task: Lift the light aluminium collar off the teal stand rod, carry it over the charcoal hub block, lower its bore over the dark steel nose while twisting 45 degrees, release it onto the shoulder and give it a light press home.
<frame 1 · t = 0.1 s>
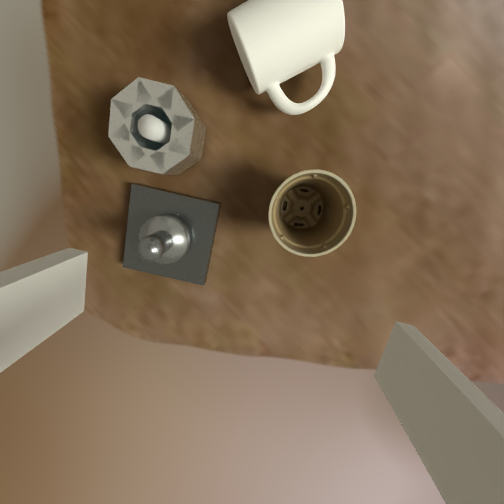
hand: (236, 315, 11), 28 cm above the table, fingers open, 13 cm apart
collar: (169, 136, 35), point 1 cm above the table, touching stand
stand: (172, 137, 36), on the table
mug: (288, 68, 34), on the table
flower pot: (301, 206, 38), on the table
hub: (172, 234, 39), on the table
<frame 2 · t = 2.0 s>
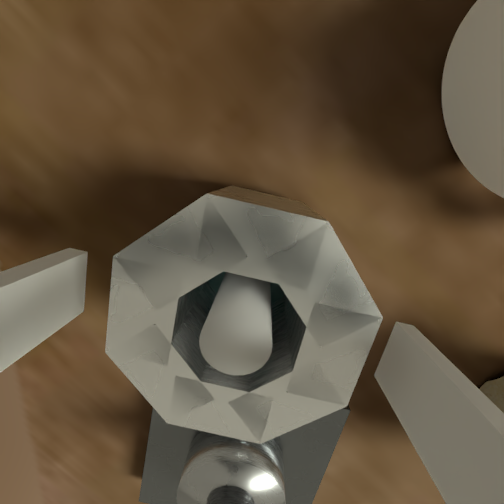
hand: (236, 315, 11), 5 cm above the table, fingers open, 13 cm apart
collar: (248, 274, 15), point 1 cm above the table, touching stand
stand: (249, 268, 16), on the table
hub: (237, 438, 20), on the table
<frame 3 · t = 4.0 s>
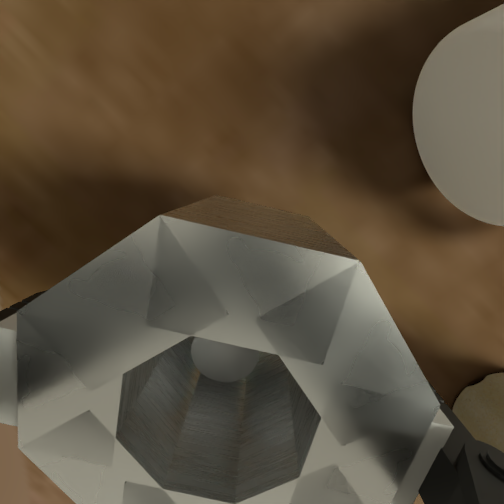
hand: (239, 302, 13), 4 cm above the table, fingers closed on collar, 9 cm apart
collar: (238, 306, 12), point 5 cm above the table, touching gripper
stand: (240, 280, 17), on the table
flower pot: (493, 405, 19), on the table
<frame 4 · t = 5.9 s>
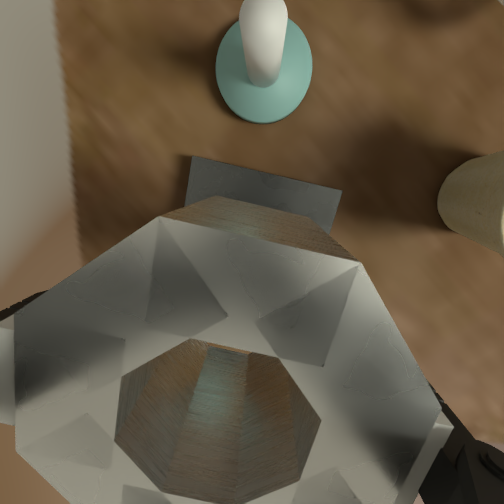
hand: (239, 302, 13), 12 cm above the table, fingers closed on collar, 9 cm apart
collar: (238, 307, 12), point 13 cm above the table, touching gripper
stand: (263, 74, 21), on the table
flower pot: (472, 195, 23), on the table
hub: (251, 242, 24), on the table
when the fingers open (3 cm above the table, at t = 7.8 s): collar stays where it is, resting on hub.
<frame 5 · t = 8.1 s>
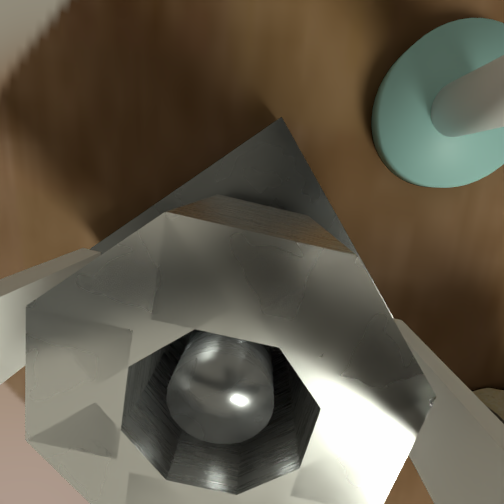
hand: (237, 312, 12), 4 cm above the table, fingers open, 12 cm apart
collar: (239, 304, 12), point 4 cm above the table, touching hub
stand: (444, 113, 13), on the table
flower pot: (482, 420, 18), on the table
hub: (244, 276, 16), on the table
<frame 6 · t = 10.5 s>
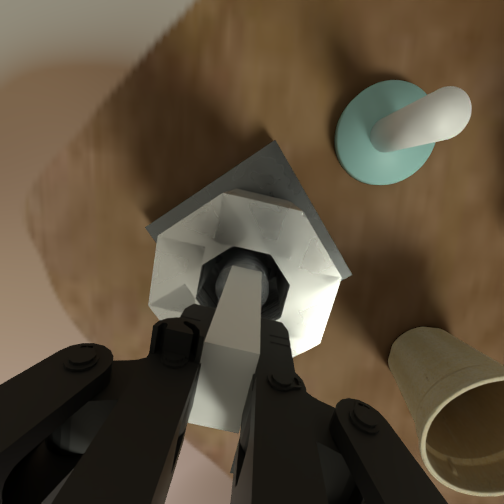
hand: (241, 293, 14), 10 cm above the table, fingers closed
collar: (248, 258, 19), point 4 cm above the table, touching hub
stand: (381, 136, 21), on the table
flower pot: (420, 352, 25), on the table
hub: (250, 246, 23), on the table
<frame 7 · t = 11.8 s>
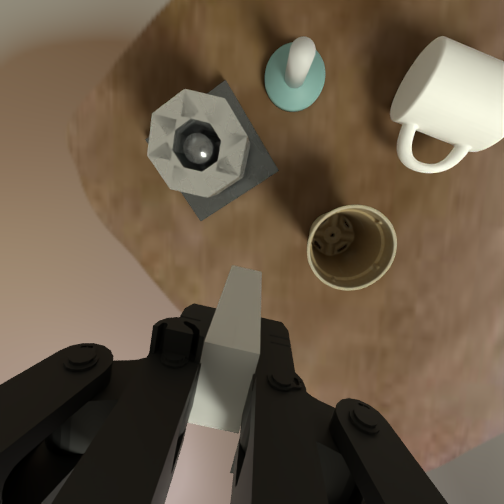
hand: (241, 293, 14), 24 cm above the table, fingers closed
collar: (208, 151, 31), point 4 cm above the table, touching hub
stand: (293, 79, 33), on the table
mug: (423, 125, 34), on the table
flower pot: (331, 233, 37), on the table
hub: (214, 156, 35), on the table
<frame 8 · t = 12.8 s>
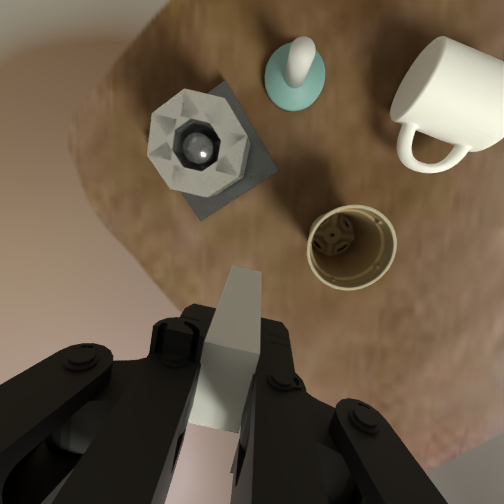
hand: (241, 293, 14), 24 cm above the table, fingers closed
collar: (208, 151, 31), point 4 cm above the table, touching hub
stand: (293, 79, 33), on the table
mug: (423, 125, 34), on the table
flower pot: (331, 233, 37), on the table
hub: (214, 156, 35), on the table
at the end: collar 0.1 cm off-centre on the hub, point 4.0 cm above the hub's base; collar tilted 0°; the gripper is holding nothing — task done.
